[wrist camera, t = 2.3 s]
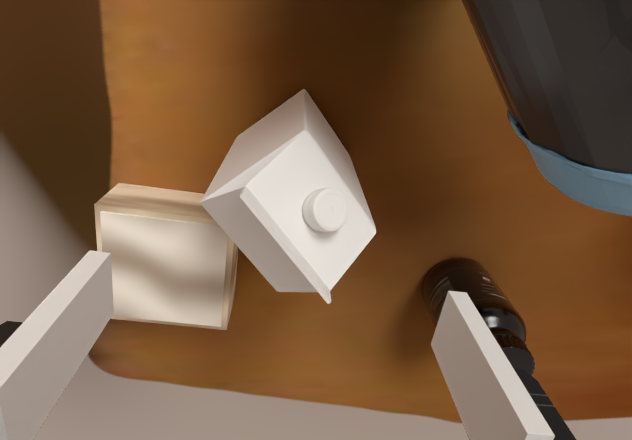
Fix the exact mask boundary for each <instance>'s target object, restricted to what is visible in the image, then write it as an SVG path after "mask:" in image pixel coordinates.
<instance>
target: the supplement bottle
mask: <svg viewBox="0 0 632 440" xmlns="http://www.w3.org/2000/svg"><path fill="white" fill-rule="evenodd" d="M448 291H457V292H466V293H467V294H468V296H469V297H470V299H471V301H472V302H473V304H474V305H475V307H476V309H477V310H478V312H479V314H480V315H481V317H482V318H483V320H484V322H485V323H486V325H487V327H488V328H489V330H490V331H491V333H492V335H493V336H494V338H495V339H496V341H497V343H498V344H499V346H500V348H501V349H502V351H503V352H504V354H505V356H506V357H507V359H508V361H509V362H510V364H511V365H512V367H513V368H515V369H524V370H526V371H527V372H528V373H529V374H530V375H532V374H533V370H534V369H535V367H534V365H535V363H534V358H533V356H532V355H531V353H530V351H529V350H528V348H527V346H526V344H525V341H526V327H525V324H524V322H523V320H522V318H521V317H520V315H519V314H518V312H517V311H516V310H515V308H514V307H513V306H512V304H511V303H510V302H509V300H508V299H507V297H506V296H505V295H504V293H503V292H502V291H501V289H500V288H499V287H498V285H497V284H496V283H495V281H494V280H493V279H492V277H491V276H490V275H489V273H488V272H487V271H486V270H485V268H484V267H483V266H482V265H480V264H479V263H477V262H476V261H474V260H471V259H467V258H453V259H449V260H446V261H443V262H441V263H439V264H438V265H436V266H435V267H434V268H433V269H432V270H431V271H430V272H429V273H428V275H427V276H426V278H425V280H424V283H423V287H422V294H423V298H424V301H425V304H426V306H427V308H428V311H429V313H430V315H431V318H432V320H433V322H434V324H435V327H436V326H437V323H438V320H439V317H440V314H441V311H442V308H443V305H444V302H445V299H446V296H447V293H448Z"/></svg>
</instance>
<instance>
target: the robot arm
mask: <svg viewBox="0 0 632 440" xmlns="http://www.w3.org/2000/svg"><path fill="white" fill-rule="evenodd" d="M462 2H463V4H464V7H465V9H466V11H467V14H468V16H469V18H470V21H471V23H472V25H473V28H474V30H475V32H476V35H477V37H478V39H479V42H480V44H481V46H482V49H483V51H484V54H485V56H486V58H487V61H488V63H489V65H490V68H491V70H492V72H493V75H494V77H495V79H496V82H497V84H498V86H499V89H500V91H501V93H502V96H503V98H504V101H505V103H506V105H507V108H508V114H507V116H508V119H509V121H510V124H511V126H512V128H513V129H514V131H515V133H516V134H517V135H518V136H519V138H520V139H521V140H522V141H523V142H524V143H525V144H526V146H527V148H528V150H529V152H530V154H531V156H532V158H533V160H534V162H535V164H536V166H537V168H538V170H539V172H540V173H541V174H542V176H543V177H544V178H545V179H546V180H547V181H548V182H549V183H550V184H551V185H553V186H555V187H556V188H557V189H558V190H559V191H560V192H562V193H563V194H564V195H566V196H568V197H569V198H571V199H572V200H575V201H577V202H579V203H581V204H584V205H586V206H589V207H592V208H595V209H598V210H602V211H606V212H610V213H615V214H620V215H626V216H632V0H462ZM113 313H114V307H113V287H112V267H111V253H107V252H98V251H89V252H88V253H87V254H86V255H85V256H84V257H83V258H82V259H81V260H80V261H79V263H78V264H77V265H76V266H75V267H74V268H73V269H72V270H71V271H70V272H69V273H68V275H67V276H66V277H65V278H64V279H63V280H62V281H61V282H60V283H59V284H58V286H56V287H55V289H54V290H53V291H52V292H51V293H50V294H49V295H48V296H47V297H46V298H45V299H44V301H43V302H42V303H41V304H40V305H39V306H38V307H37V308H36V309H35V310H34V311H33V312H32V314H31V315H30V316H29V317H28V318H27V319H26V320H25V321H24V322H23V323H22V322H12V321H7V322H5V323H3V324H1V325H0V440H33V439H34V437H35V436H36V434H37V432H38V431H39V429H40V428H41V426H42V425H43V423H44V421H45V420H46V418H47V417H48V415H49V414H50V412H51V410H52V409H53V407H54V406H55V404H56V403H57V401H58V400H59V398H60V396H61V395H62V393H63V392H64V390H65V389H66V387H67V385H68V384H69V382H70V381H71V379H72V378H73V376H74V374H75V373H76V371H77V370H78V368H79V367H80V365H81V364H82V362H83V360H84V359H85V357H86V356H87V354H88V353H89V351H90V349H91V348H92V346H93V345H94V343H95V342H96V340H97V339H98V337H99V335H100V334H101V332H102V331H103V329H104V328H105V326H106V324H107V323H108V321H109V320H110V318H111V317H112V315H113ZM431 347H432V349H433V351H434V354H435V356H436V359H437V361H438V364H439V366H440V369H441V371H442V374H443V376H444V379H445V381H446V383H447V386H448V388H449V391H450V393H451V396H452V398H453V401H454V403H455V406H456V408H457V411H458V413H459V415H460V418H461V420H462V423H463V425H464V427H465V430H466V433H467V435H468V438H469V440H576V439H575V437H574V436H573V434H572V433H571V431H570V430H569V428H568V427H567V425H566V424H565V422H564V421H563V419H562V418H561V416H560V415H559V413H558V411H557V410H556V408H555V407H553V404H552V402H551V401H550V399H549V398H548V397H546V393H545V392H544V390H543V389H542V387H541V386H540V384H539V383H538V381H537V380H536V379H534V378H533V377H532V376H531V375H530V374H529V373H528V372H527V371H526V370H524V369H515V368H513V367H512V365H511V364H510V362H509V361H508V359H507V357H506V356H505V354H504V352H503V351H502V349H501V348H500V346H499V344H498V343H497V341H496V339H495V338H494V336H493V335H492V333H491V331H490V330H489V328H488V327H487V325H486V323H485V322H484V320H483V318H482V317H481V315H480V314H479V312H478V310H477V309H476V307H475V305H474V304H473V302H472V301H471V299H470V297H469V296H468V294H467V293H466V292H457V291H448V293H447V296H446V299H445V302H444V305H443V308H442V311H441V314H440V317H439V320H438V323H437V326H436V329H435V332H434V336H433V339H432V342H431Z"/></svg>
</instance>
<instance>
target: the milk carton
mask: <svg viewBox="0 0 632 440" xmlns="http://www.w3.org/2000/svg"><path fill="white" fill-rule="evenodd" d="M200 204H201V205H202V206H203V207H204V208H205V210H206V211H207V212H208V213H209V214H210V215H211V217H212V218H213V219H214V220H215V221H216V222H217V223H218V225H219V226H220V227H221V228H222V229H223V230H224V232H225V233H226V234H227V235H228V236H229V237H230V238H231V240H232V241H233V242H234V243H235V244H236V245H237V246H238V248H239V249H240V250H241V251H242V252H243V253H244V254H245V256H246V257H247V258H248V259H249V260H250V261H251V262H252V264H253V265H254V266H255V267H256V268H257V269H258V271H259V272H260V273H261V274H262V275H263V276H264V277H265V279H266V280H267V281H268V282H269V283H270V284H271V285H272V286H273V288H274V289H275V290H276V291H277V292H318V293H319V294H320V295H321V296H322V297H323V299H324V300H325V301H326V302H327V304H329V303H331V295H330V291H331V289H332V288H333V287H334V286H335V284H336V283H337V282H338V281H339V279H340V278H341V277H342V275H343V274H344V273H345V272H346V270H347V269H348V268H349V267H350V265H351V264H352V263H353V262H354V260H355V259H356V258H357V257H358V255H359V254H360V253H361V252H362V250H363V249H364V248H365V247H366V245H367V244H368V243H369V242H370V240H371V239H372V238H373V237H374V235H375V234H376V227H375V224H374V221H373V219H372V216H371V213H370V210H369V207H368V205H367V202H366V199H365V196H364V194H363V191H362V188H361V185H360V183H359V180H358V177H357V174H356V171H355V169H354V166H353V163H352V160H351V158H350V155H349V154H348V152H347V150H346V149H345V147H344V146H343V144H342V143H341V141H340V140H339V138H338V137H337V135H336V134H335V132H334V131H333V129H332V128H331V126H330V125H329V124H328V122H327V121H326V119H325V118H324V116H323V115H322V113H321V112H320V110H319V109H318V107H317V106H316V104H315V103H314V101H313V100H312V98H311V97H310V95H309V94H308V92H307V91H306V90H305V89H302V90H301V91H300V92H298V93H297V94H295V95H294V96H293V97H291V98H290V99H288V100H287V101H286V102H284V103H283V104H281V105H280V106H279V107H277V108H276V109H274V110H273V111H272V112H270V113H269V114H267V115H266V116H265V117H263V118H262V119H261V120H259V121H258V122H256V123H255V124H254V125H252V126H251V127H249V128H248V129H247V130H245V131H244V132H242V133H241V134H240V135H238V136H237V137H236V139H235V141H234V143H233V144H232V146H231V148H230V150H229V152H228V153H227V155H226V157H225V159H224V161H223V162H222V164H221V166H220V168H219V169H218V171H217V173H216V175H215V177H214V178H213V180H212V182H211V184H210V186H209V187H208V189H207V191H206V193H205V195H204V196H203V198H202V200H201V202H200Z"/></svg>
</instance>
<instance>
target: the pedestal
mask: <svg viewBox="0 0 632 440" xmlns="http://www.w3.org/2000/svg"><path fill="white" fill-rule="evenodd" d="M204 195H205V194H203V193H195V192H187V191H179V190H171V189H163V188H156V187H148V186H140V185H132V184H124V183H118V184H117V185H116V186H115V187H114V188H112V189H111V190H110V191H109V192H108V193H107V194H106V195H105V196H103V197H102V198H101V199H100V200H99V201H98V202H97V203H96V204H94V205H95V221H96V236H97V251H98V252H107V253H111V267H112V287H113V307H114V313H113V315H112V317H111V318H110V319H120V320H130V321H140V322H150V323H160V324H170V325H180V326H190V327H200V328H210V329H220V330H227V326H228V322H229V318H230V314H231V310H232V305H233V301H234V296H235V284H236V273H237V261H238V250H239V248H238V246H237V245H236V244H235V243H234V242H233V241H232V240H231V238H230V237H229V236H228V235H227V234H226V233H225V232H224V230H223V229H222V228H221V227H220V226H219V225H218V223H217V222H216V221H215V220H214V219H213V218H212V217H211V215H210V214H209V213H208V212H207V211H206V210H205V208H204V207H203V206H202V205H201V204H200V202H201V200H202V198H203V196H204Z"/></svg>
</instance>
